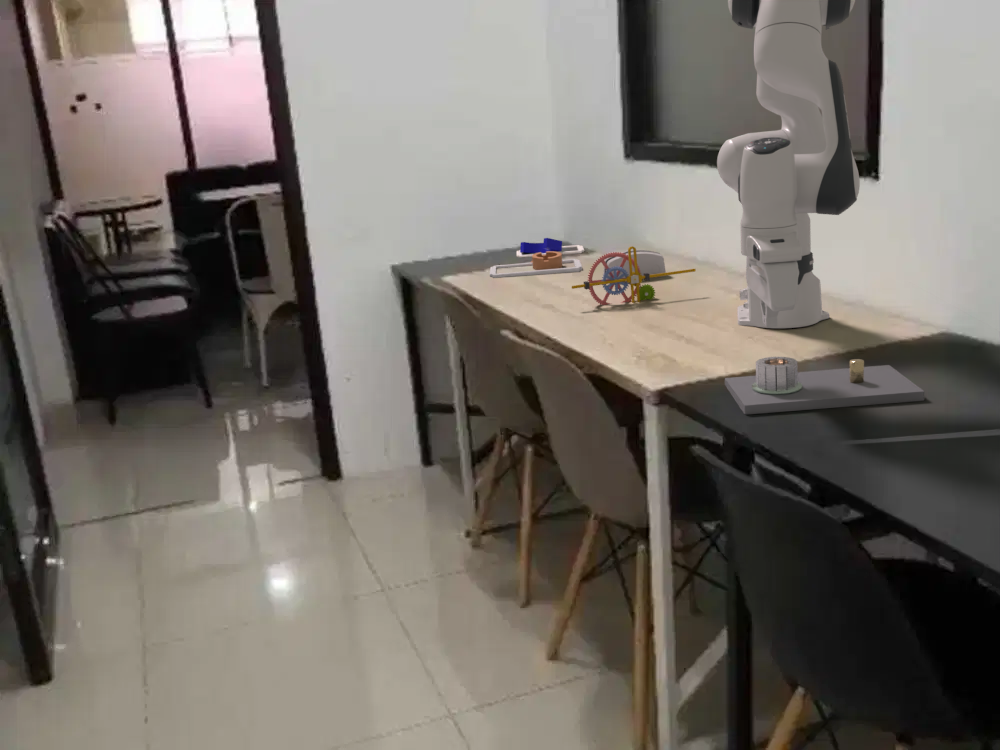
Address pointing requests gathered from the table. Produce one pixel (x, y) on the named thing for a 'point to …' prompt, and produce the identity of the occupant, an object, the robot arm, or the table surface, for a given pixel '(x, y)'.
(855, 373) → the stand rod
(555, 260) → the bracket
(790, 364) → the steel ring
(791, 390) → the post
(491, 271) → the bin
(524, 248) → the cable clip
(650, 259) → the grey rounded block
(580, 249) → the bin
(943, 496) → the table surface
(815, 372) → the board
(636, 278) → the mechanical gear assembly
